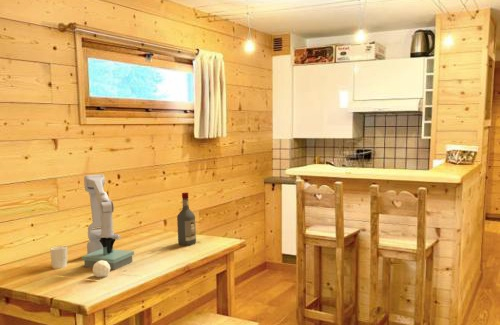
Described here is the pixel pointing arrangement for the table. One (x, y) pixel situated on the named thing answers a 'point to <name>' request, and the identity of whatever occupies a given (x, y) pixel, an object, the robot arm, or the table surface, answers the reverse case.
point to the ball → (101, 268)
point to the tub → (112, 265)
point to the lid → (108, 255)
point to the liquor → (186, 224)
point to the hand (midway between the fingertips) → (108, 252)
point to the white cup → (59, 256)
